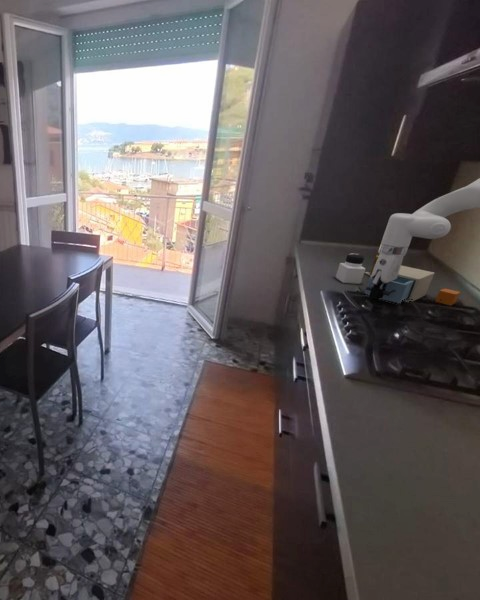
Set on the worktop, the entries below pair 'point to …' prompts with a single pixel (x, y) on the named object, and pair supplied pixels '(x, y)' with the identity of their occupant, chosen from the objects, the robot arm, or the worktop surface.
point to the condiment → (373, 265)
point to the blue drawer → (394, 289)
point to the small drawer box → (417, 281)
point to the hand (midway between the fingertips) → (375, 297)
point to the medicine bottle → (351, 269)
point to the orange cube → (447, 296)
